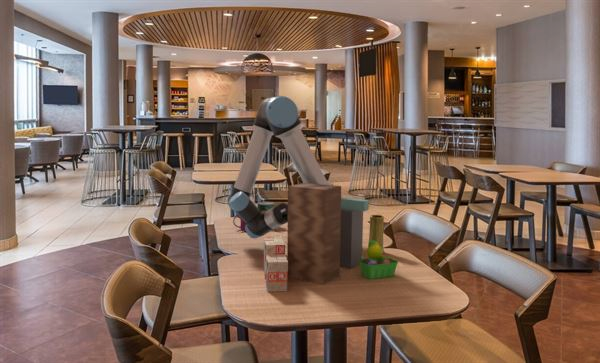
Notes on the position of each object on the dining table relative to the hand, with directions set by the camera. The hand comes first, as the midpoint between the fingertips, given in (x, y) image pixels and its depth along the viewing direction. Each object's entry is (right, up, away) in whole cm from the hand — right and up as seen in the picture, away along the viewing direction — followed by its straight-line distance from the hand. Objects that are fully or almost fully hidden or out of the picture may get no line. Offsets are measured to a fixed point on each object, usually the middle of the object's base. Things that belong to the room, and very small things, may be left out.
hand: (324, 190), depth 193 cm
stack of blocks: (-17, -29, -22) cm, 40 cm away
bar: (+3, -6, -1) cm, 7 cm away
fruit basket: (+17, -28, -15) cm, 36 cm away
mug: (-34, -19, +53) cm, 66 cm away
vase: (+20, -25, +15) cm, 35 cm away
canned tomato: (-25, -18, +63) cm, 70 cm away
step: (+6, -26, -1) cm, 27 cm away
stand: (-5, -28, -17) cm, 33 cm away
